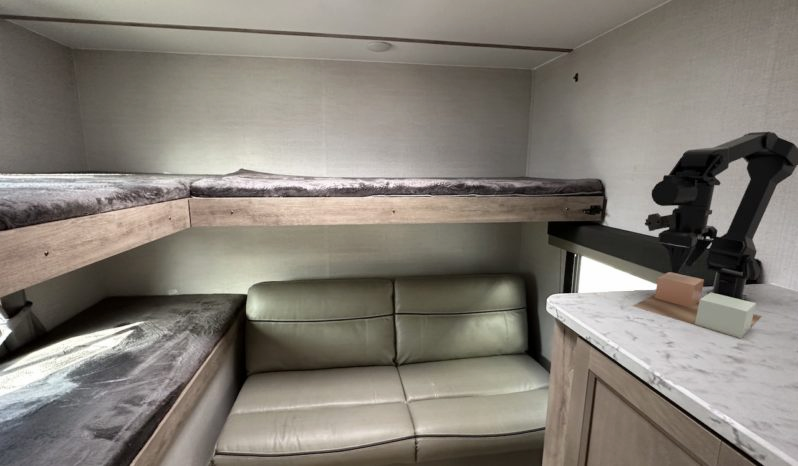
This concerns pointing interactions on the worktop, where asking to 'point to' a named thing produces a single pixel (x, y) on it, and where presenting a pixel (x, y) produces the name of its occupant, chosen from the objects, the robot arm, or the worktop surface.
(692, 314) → the walnut board
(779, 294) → the worktop surface
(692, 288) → the salmon foam cube
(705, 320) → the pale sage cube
